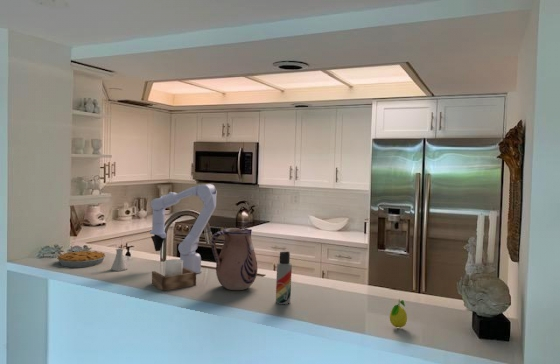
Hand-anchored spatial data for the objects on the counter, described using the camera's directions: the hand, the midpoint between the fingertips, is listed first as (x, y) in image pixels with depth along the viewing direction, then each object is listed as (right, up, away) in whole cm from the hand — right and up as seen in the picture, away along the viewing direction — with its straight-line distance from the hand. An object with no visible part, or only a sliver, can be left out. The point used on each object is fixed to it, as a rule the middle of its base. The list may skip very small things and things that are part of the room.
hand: (157, 250), depth 209 cm
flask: (-18, -9, -1) cm, 20 cm away
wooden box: (+14, -11, -24) cm, 30 cm away
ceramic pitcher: (+40, -12, -26) cm, 49 cm away
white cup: (+13, -11, -23) cm, 28 cm away
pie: (-41, -8, +10) cm, 43 cm away
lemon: (+99, -16, -66) cm, 120 cm away
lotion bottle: (+61, -13, -43) cm, 75 cm away
